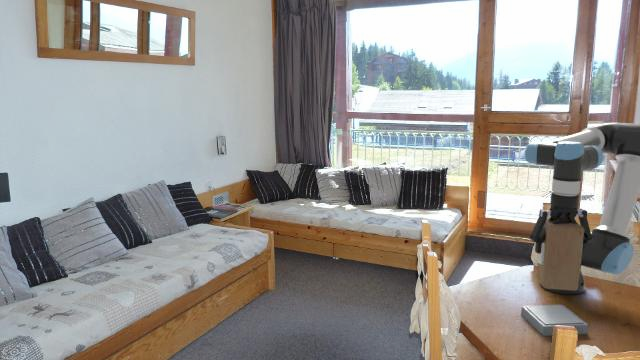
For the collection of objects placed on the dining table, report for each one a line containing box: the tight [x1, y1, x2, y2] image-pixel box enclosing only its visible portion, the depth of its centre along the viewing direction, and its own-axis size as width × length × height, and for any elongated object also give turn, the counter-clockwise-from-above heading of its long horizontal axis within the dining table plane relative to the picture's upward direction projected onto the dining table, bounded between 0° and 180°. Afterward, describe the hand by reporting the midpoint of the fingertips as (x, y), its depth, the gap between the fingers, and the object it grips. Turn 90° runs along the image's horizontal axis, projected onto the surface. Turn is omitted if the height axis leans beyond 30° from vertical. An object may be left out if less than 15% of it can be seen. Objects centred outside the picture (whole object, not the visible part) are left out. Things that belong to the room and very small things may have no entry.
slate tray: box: [520, 304, 589, 337], centre depth 156 cm, size 14×14×3 cm
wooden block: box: [536, 217, 584, 291], centre depth 151 cm, size 10×10×20 cm
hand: (558, 262), depth 152 cm, fingers closed on wooden block, 11 cm apart
